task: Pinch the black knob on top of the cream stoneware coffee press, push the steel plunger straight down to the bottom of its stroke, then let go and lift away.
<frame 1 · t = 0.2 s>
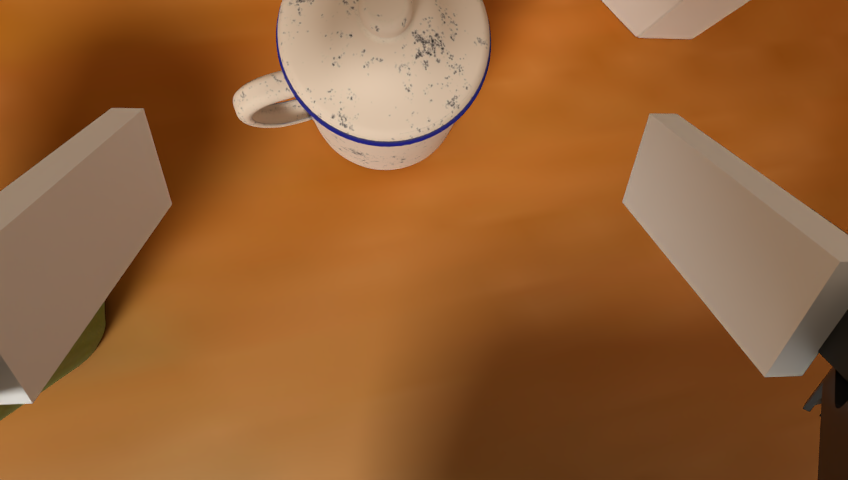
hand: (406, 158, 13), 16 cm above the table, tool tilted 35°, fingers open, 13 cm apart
teacup with lid: (361, 107, 29), on the table
plant pot: (42, 314, 27), on the table
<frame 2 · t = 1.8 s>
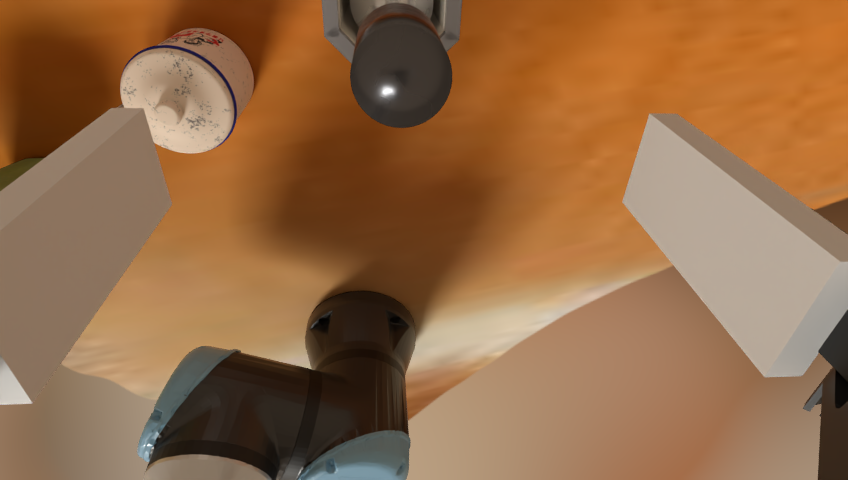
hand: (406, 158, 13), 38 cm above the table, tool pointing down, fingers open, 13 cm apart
teacup with lid: (196, 77, 48), on the table
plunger: (395, 27, 27), point 21 cm above the table, slide at 0.0 cm
plant pot: (50, 186, 53), on the table
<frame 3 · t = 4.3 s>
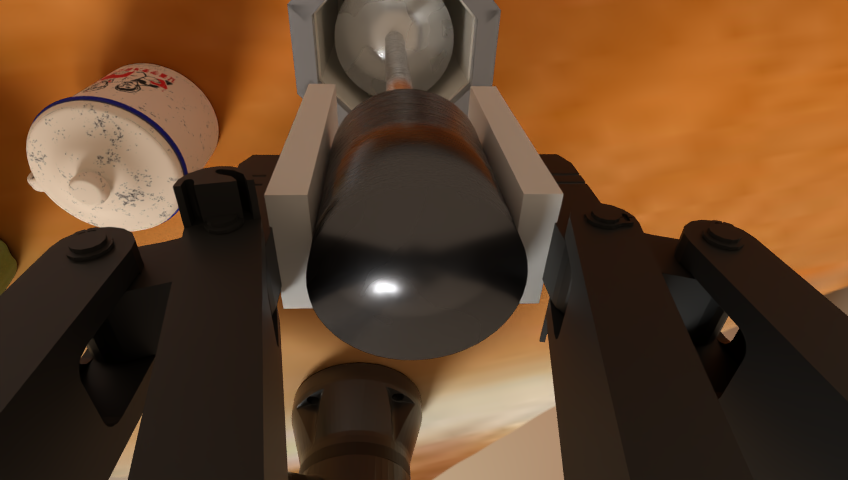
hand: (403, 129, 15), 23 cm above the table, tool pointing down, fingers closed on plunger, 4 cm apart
teacup with lid: (145, 124, 38), on the table
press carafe: (390, 3, 34), on the table
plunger: (400, 101, 17), point 21 cm above the table, slide at 0.0 cm, touching gripper
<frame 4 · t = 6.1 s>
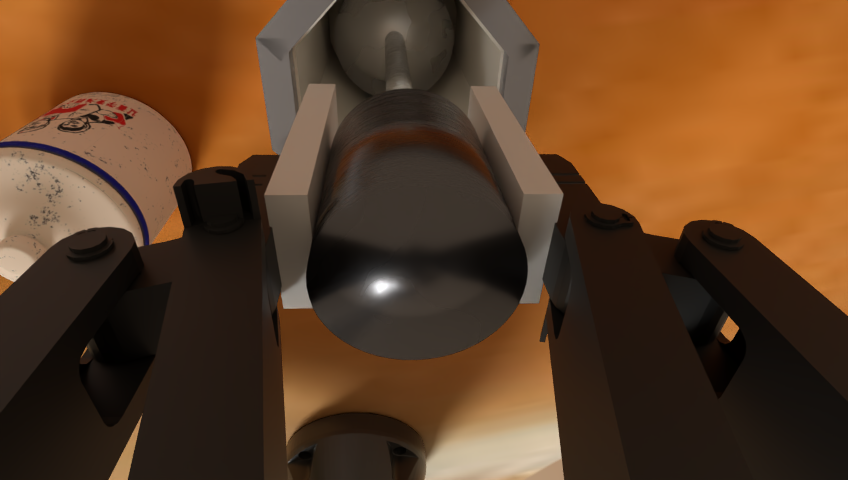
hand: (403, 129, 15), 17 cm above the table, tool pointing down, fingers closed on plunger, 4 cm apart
teacup with lid: (106, 160, 32), on the table
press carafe: (392, 22, 28), on the table
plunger: (400, 101, 17), point 14 cm above the table, slide at 6.5 cm, touching gripper
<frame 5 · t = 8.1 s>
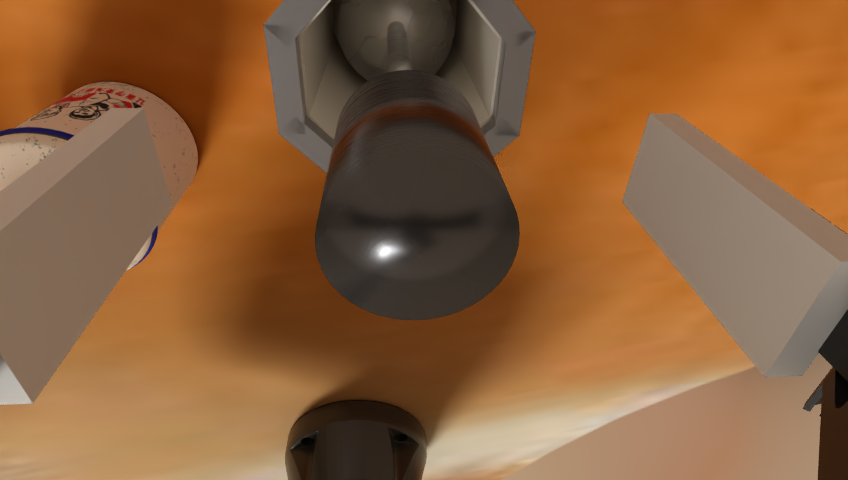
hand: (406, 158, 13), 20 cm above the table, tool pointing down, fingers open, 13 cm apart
teacup with lid: (114, 148, 33), on the table
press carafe: (394, 13, 29), on the table
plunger: (402, 86, 18), point 14 cm above the table, slide at 6.5 cm
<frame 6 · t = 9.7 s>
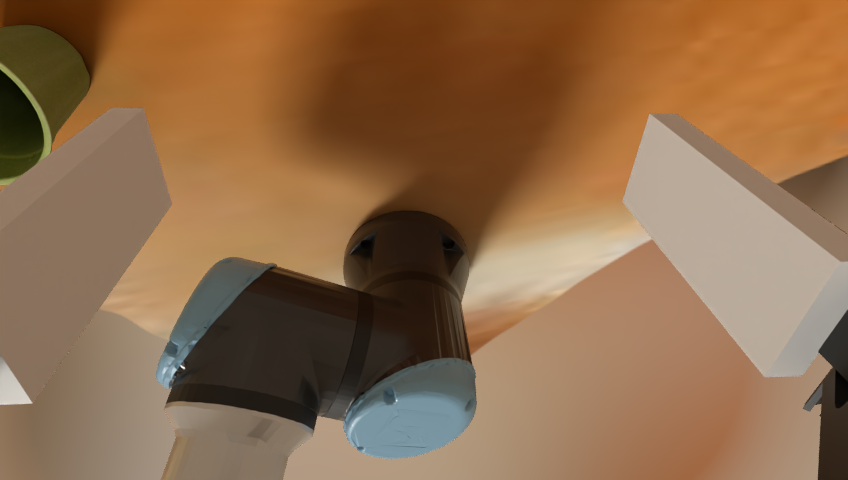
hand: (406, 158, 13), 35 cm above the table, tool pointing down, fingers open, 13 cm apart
plant pot: (47, 66, 44), on the table
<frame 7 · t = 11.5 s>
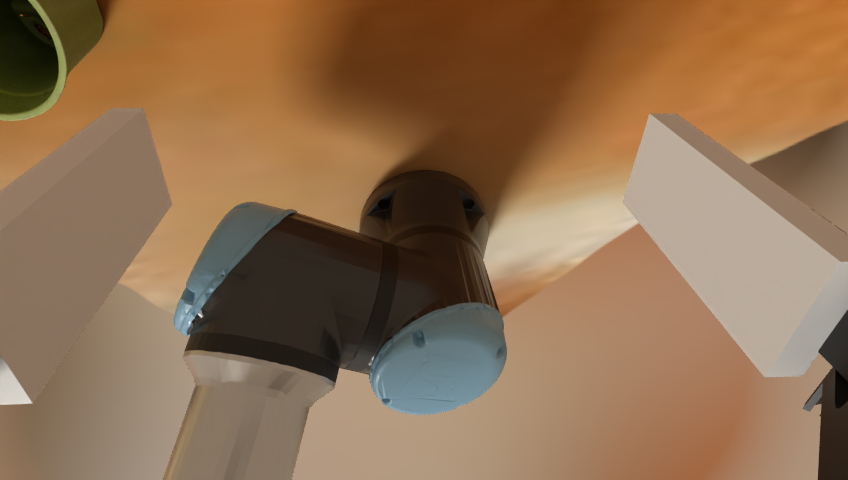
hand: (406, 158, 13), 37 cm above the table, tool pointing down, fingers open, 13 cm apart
plant pot: (59, 9, 43), on the table
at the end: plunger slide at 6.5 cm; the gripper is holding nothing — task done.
